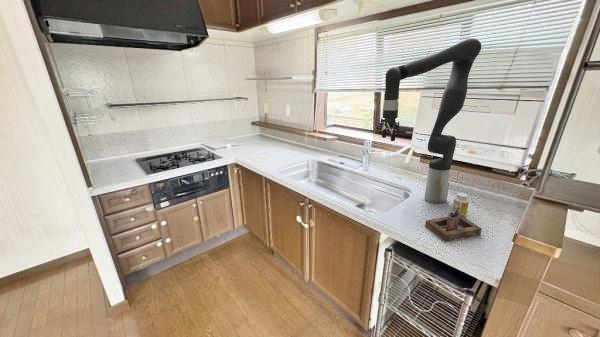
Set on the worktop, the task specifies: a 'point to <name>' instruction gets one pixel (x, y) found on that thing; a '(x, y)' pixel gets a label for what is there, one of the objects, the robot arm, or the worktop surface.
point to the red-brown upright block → (453, 219)
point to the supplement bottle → (461, 203)
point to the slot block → (446, 236)
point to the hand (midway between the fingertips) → (388, 139)
